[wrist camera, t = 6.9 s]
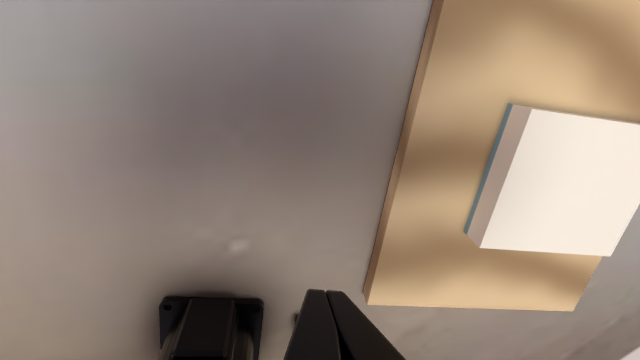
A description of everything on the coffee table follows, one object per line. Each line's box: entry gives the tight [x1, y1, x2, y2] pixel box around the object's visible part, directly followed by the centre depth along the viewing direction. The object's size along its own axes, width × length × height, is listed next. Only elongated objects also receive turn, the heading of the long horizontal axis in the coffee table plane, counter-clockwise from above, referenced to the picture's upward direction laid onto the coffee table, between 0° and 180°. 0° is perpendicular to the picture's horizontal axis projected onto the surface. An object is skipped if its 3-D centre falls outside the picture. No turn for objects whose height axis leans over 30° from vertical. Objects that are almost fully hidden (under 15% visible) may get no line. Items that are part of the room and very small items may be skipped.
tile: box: [463, 103, 640, 256], centre depth 19 cm, size 8×2×9 cm
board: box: [363, 0, 640, 311], centre depth 20 cm, size 20×16×1 cm
